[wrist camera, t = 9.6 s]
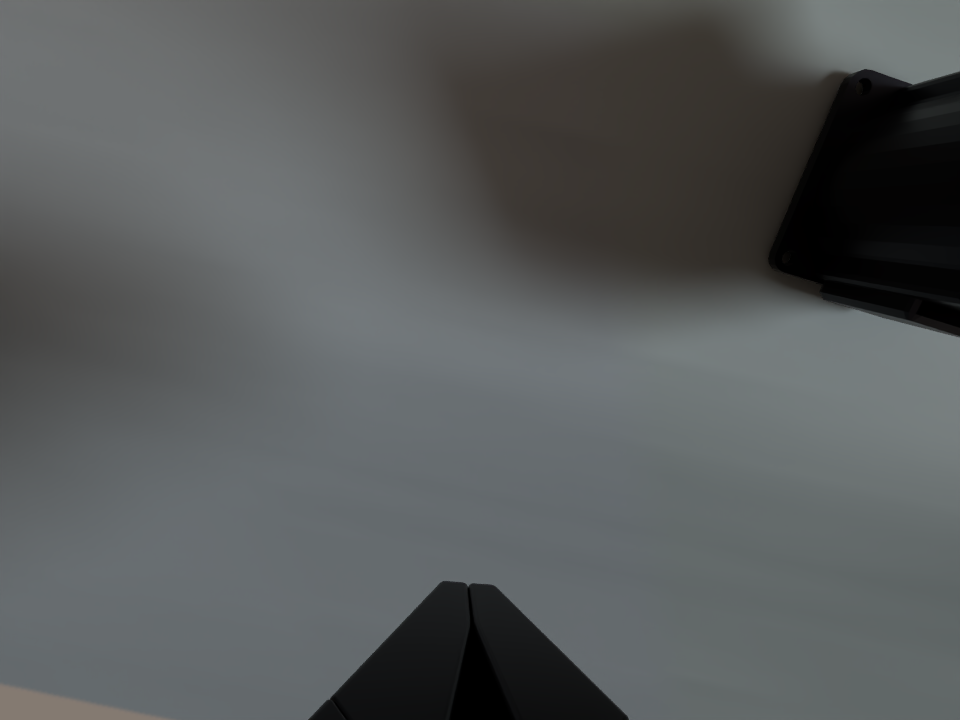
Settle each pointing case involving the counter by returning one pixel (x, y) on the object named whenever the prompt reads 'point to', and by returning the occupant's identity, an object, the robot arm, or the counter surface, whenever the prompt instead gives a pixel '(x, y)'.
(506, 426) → the counter surface
